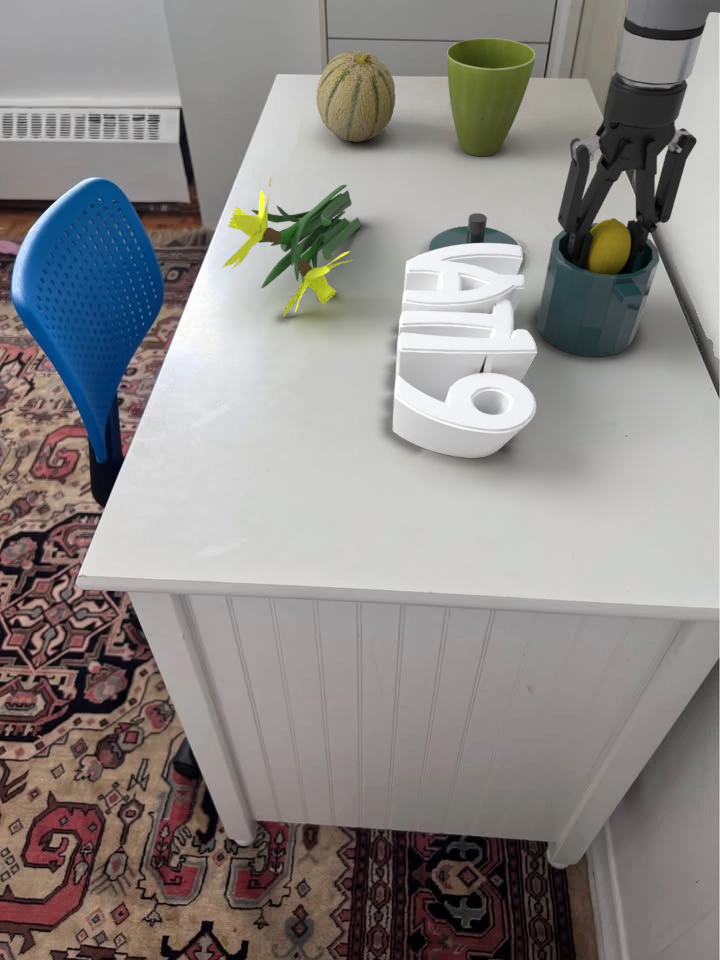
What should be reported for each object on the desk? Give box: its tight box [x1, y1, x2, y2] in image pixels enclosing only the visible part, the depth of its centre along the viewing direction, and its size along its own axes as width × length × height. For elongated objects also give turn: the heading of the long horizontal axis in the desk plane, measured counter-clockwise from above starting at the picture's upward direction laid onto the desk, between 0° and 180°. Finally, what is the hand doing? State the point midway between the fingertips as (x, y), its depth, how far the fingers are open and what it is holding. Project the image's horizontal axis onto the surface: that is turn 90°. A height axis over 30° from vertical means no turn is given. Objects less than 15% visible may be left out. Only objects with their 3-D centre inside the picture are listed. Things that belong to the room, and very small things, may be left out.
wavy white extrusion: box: [392, 243, 538, 459], centre depth 86 cm, size 35×16×11 cm, turn 171°
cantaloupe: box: [315, 50, 396, 143], centre depth 132 cm, size 15×15×15 cm
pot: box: [536, 222, 660, 358], centre depth 92 cm, size 13×18×12 cm
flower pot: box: [446, 37, 537, 157], centre depth 127 cm, size 15×15×16 cm
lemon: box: [585, 217, 631, 275], centre depth 87 cm, size 6×6×8 cm
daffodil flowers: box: [221, 178, 362, 318], centre depth 100 cm, size 17×15×35 cm
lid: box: [428, 212, 519, 252], centre depth 106 cm, size 14×14×6 cm
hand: (598, 276), depth 90 cm, fingers closed on lemon, 5 cm apart
